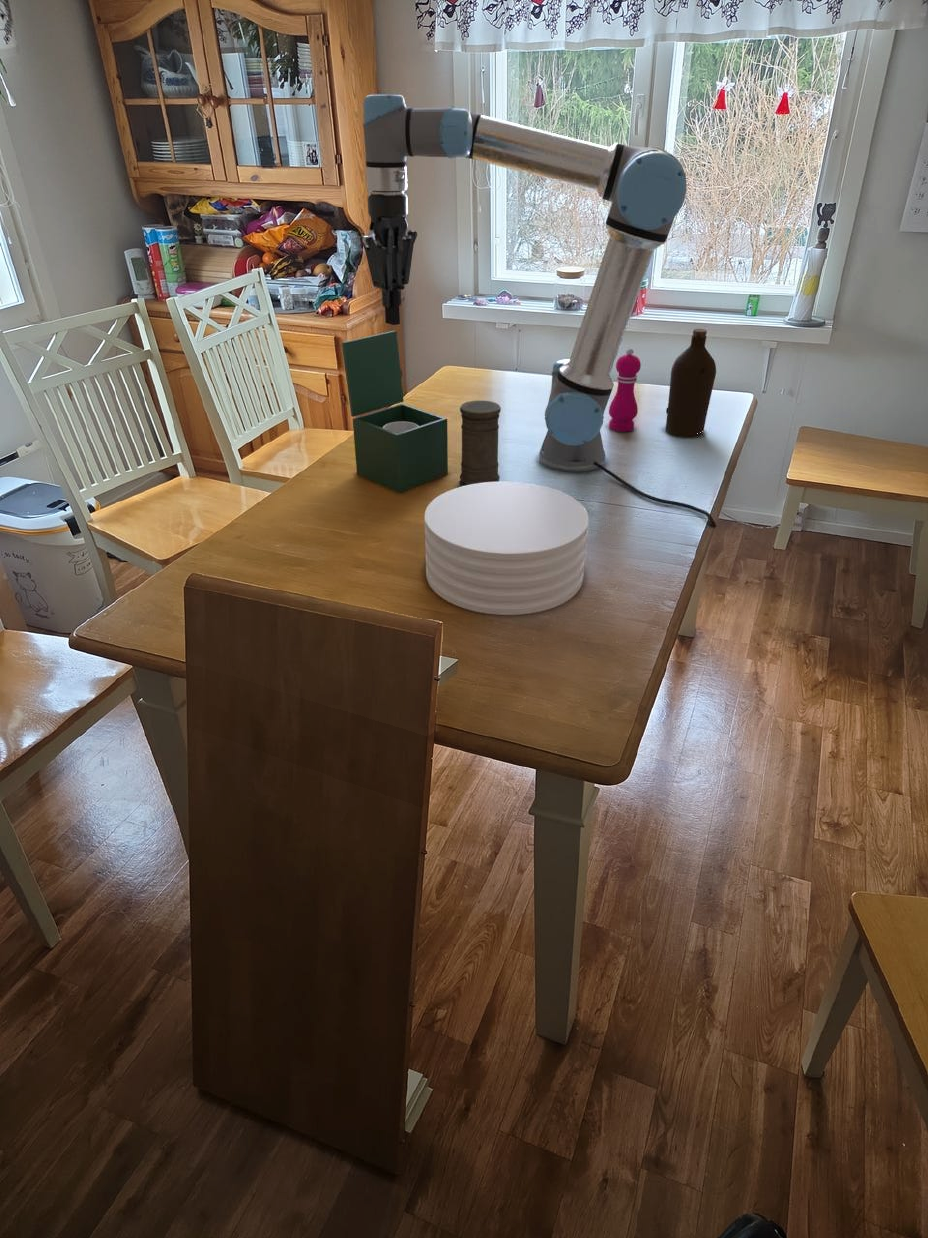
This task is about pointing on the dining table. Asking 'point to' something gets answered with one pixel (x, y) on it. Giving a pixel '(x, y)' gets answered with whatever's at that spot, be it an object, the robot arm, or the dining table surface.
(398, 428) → the dixie cup
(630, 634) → the dining table surface
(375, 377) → the lid
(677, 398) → the olive oil
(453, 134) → the robot arm
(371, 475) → the chest
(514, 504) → the plate stack
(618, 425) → the pepper mill
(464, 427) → the container
